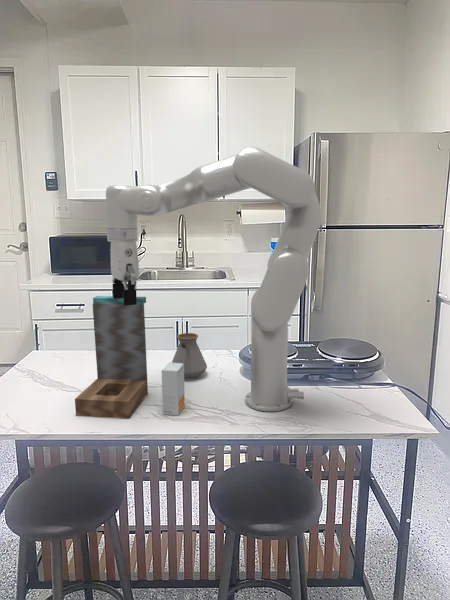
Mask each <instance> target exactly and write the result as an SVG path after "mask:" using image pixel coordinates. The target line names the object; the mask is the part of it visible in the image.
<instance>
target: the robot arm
mask: <svg viewBox="0 0 450 600" xmlns="http://www.w3.org/2000/svg"><path fill="white" fill-rule="evenodd" d="M251 188H252V189H253V190H255V191H257V192H260V193H261V194H263V195H265V196H267V197H269V198H271V199H273V200H275V201H277V202H279V203H280V204H282V205H283V206H284V208H285V214H286V215H285V220H284V222H283V226H282V227H281V228H282V229H281V232H280V234H279V236H278V238H277V241H276V244H275V246H274V249H273V250H272V252H271V255H270V256H269V258H268V260H267V264H266V265H267V269H266V271H265V274H264V277H263V279H262V282H261V284H260V286H259V288H258V289H257V290H256V291H254V293H253V295H252V297H251V302H250V315H251V316H250V319H251V320H250V325H251V326H250V327H251V328H250V330H251V331H250V333H251V336H250V340H251V341H250V342H251V343H250V392H248V393H246V394H245V397H244V401H245V404H246V405H247V406H248V407H249V408H251V409H253V410H257V411H260V412H280V411H283V410H287V409H288V408H290V407H291V406H292V404H293V399H297V400H304V399H305V392H304V391H300V388H291V387H289V384H288V383H289V382H288V379H287V378H288V347H289V346H288V344H289V342H288V341H289V332H288V331H289V322H290V320H291V318H292V316H293V314H294V312H295V309H296V308H297V305H298V302H299V300H300V298H301V295H302V294H303V293H302V292H303V291H304V288H305V285H306V283H307V280H308V277H309V272H310V270H309V269H310V266H309V262H308V258H309V255H310V254H311V253H310V252H311V250H312V248H313V245H314V242H315V240H316V237H317V234H318V231H319V230H320V229H319V228H320V224H321V218H322V216H321V215H322V214H321V213H322V212H321V205H320V202H319V198H318V196H317V194H316V191H315V190H316V186H315V182H314V179H313V178H312V176H311V175H310V174H309V173H308V172H306V171H305V170H304V169H302V168H300V167H297V166H296V165H294V164H291V163H289V162H287V161H285V160H283V159H281V158H280V157H277V156H275V155H273V154H271V153H269V152H267V151H266V150H263V149H262V148H259V147H255V146H249V147H245V148H243V149H241V150H240V151H239V152H237V154H235V155H231V156H229V157H226V158H222V159H220V160H219V159H218V160H217V161H213V162H209V163H206V164H203V165H200V166H198V167H196V168H195V169H194V170H192V171H191V172H190V173H188V174H186V175H184V176H182V177H181V178H177V179H175V180H173V181H169V182H166V183H162V184H160V185H159V184H158V185H152V184H143V185H142V184H141V185H136V186H135V185H134V186H131V185H117V184H116V185H115V184H114V185H109V186H108V187H107V188H106V190H105V205H106V207H105V208H106V233H107V234H106V237H107V238H106V239H107V242H110V273H111V276H112V280H111V281H112V296H113V298H123V300H124V305H125V306H127V305H136V304H137V301H136V297H137V283H138V282H137V281H139V279H140V268H139V267H140V265H139V253H138V246H137V242H138V241H139V239H138V216H139V215H140V216H145V217H154V216H161V215H165V214H168V213H171V212H174V211H175V212H176V211H178V210H181V209H185V208H187V207H190V206H191V207H192V206H194V205H198V204H203V203H207V202H210V201H213V200H216V199H220V198H223V197H226V196H229V195H233V194H235V193H238V192H239V193H240V192H242V191H246V190H249V189H251Z"/></svg>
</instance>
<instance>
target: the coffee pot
mask: <svg viewBox="0 0 450 600" xmlns="http://www.w3.org/2000/svg"><path fill="white" fill-rule="evenodd" d="M176 338H177V340H178V341H179V343H178V345H177V349H176V350H175V354H174V356H173V358H172V361H171V363H183V364H184V381H185V380H187V381H189V380H196V379H199V378H200V377H202V375H204V373H205V372H206V370H207V369H208V364H207V363H206V360H205V358H204V356H203V354H202V351H201V350H200V348H199V345H198V343H197V340H198V338H199V335H198V334H197V333H193V332H183V333H180V334H178V335H176Z"/></svg>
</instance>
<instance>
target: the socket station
mask: <svg viewBox="0 0 450 600" xmlns="http://www.w3.org/2000/svg"><path fill="white" fill-rule="evenodd" d="M136 301H137V304H136V305H127V306H125V305H124V300H123V298H113V295H96V296H94V297H93V298H92V315H93V316H92V317H93V331H94V345H95V358H96V359H95V360H96V361H95V362H96V374H97V379H95V380H94V381H93V382H92V383H91V384H90V385H88V386H87V387H86V388H85V389H84V390H83V391H81V393H79V395H78V396H76V397H75V398H74V404H75V405H74V407H75V416H79V417H94V418H95V417H97V418H111V419H113V418H114V419H130V418H131V417H132V415H133V414H134V413H135V411H136V410H137V409H138V408H139V406H140V405H141V404H142V402H143V401H144V400H145V398H146V397H147V396H148V394H149V386H148V366H147V365H148V363H147V345H146V344H147V342H146V341H147V340H146V322H145V321H146V319H145V304H146V303H147V296H136Z"/></svg>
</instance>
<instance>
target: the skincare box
mask: <svg viewBox="0 0 450 600" xmlns="http://www.w3.org/2000/svg"><path fill="white" fill-rule="evenodd" d="M161 393H162V394H161V397H162V398H161V399H162V415H166V416H168V415H169V416H176V417H177V416H179V415H180V413H181V412H182V410H183V409H184V407H185V403H186V401H185V380H184V364H183V363H172V361H170V362H168V363H167V364H166V365H165V366H164V367H163V368H162V369H161Z"/></svg>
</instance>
